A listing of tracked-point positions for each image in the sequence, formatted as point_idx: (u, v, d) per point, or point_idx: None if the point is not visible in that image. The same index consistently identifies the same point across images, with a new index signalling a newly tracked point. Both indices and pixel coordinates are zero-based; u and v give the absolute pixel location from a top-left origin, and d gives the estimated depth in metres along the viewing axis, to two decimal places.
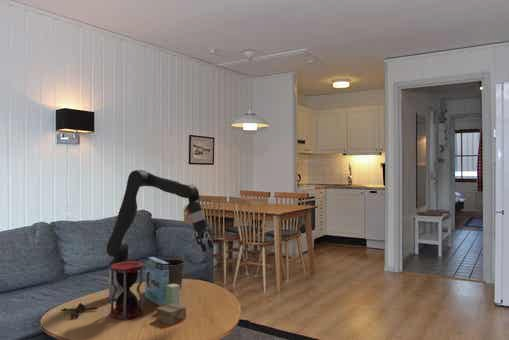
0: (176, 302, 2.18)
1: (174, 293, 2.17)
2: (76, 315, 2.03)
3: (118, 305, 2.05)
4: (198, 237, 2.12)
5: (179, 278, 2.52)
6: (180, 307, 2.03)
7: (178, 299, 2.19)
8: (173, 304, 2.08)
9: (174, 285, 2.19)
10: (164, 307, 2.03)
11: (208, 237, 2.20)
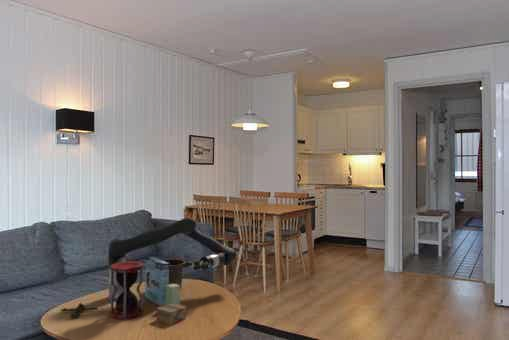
0: (176, 302, 2.18)
1: (174, 293, 2.17)
2: (76, 315, 2.03)
3: (118, 305, 2.05)
4: (207, 266, 2.29)
5: (179, 278, 2.52)
6: (180, 307, 2.04)
7: (178, 299, 2.19)
8: (173, 304, 2.08)
9: (174, 285, 2.19)
10: (164, 307, 2.03)
11: (193, 265, 2.34)
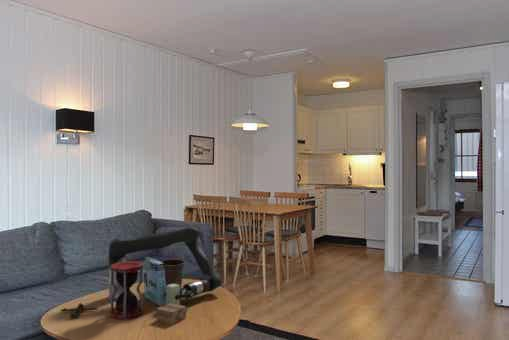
0: (176, 302, 2.18)
1: (174, 293, 2.17)
2: (76, 315, 2.03)
3: (118, 305, 2.05)
4: (190, 296, 2.20)
5: (179, 278, 2.52)
6: (180, 307, 2.04)
7: (178, 299, 2.19)
8: (172, 304, 2.08)
9: (174, 285, 2.19)
10: (164, 307, 2.02)
11: None
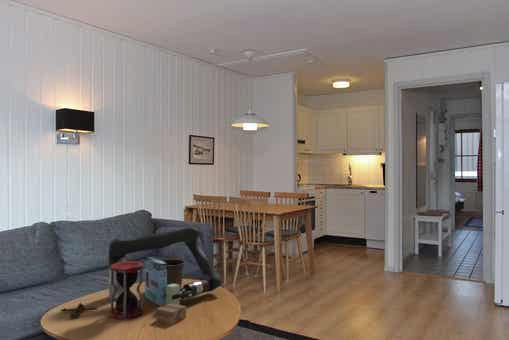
0: (176, 302, 2.18)
1: (174, 293, 2.17)
2: (76, 315, 2.03)
3: (118, 305, 2.05)
4: (187, 296, 2.19)
5: (179, 278, 2.52)
6: (180, 307, 2.04)
7: (178, 299, 2.19)
8: (172, 304, 2.08)
9: (174, 285, 2.19)
10: (164, 308, 2.02)
11: None
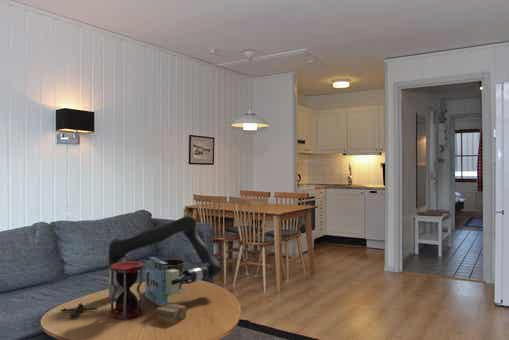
0: (175, 287, 2.18)
1: (173, 278, 2.16)
2: (76, 315, 2.03)
3: (118, 305, 2.05)
4: (187, 281, 2.19)
5: None
6: (180, 306, 2.04)
7: (178, 284, 2.19)
8: (171, 304, 2.08)
9: (174, 270, 2.19)
10: (164, 308, 2.02)
11: None
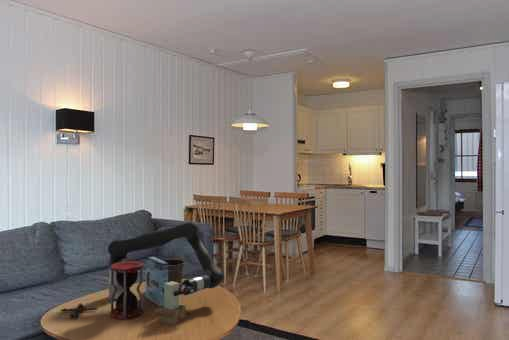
0: (175, 301, 2.02)
1: (172, 291, 2.00)
2: (76, 315, 2.03)
3: (118, 305, 2.05)
4: (190, 292, 2.03)
5: (179, 278, 2.52)
6: (180, 306, 2.05)
7: (177, 298, 2.03)
8: None
9: (173, 283, 2.03)
10: (164, 308, 2.02)
11: None
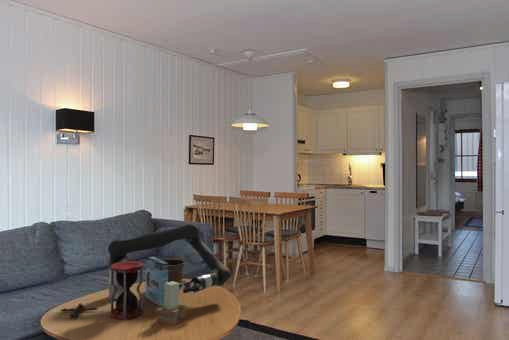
0: (175, 301, 2.02)
1: (172, 291, 2.00)
2: (75, 315, 2.03)
3: (118, 305, 2.05)
4: (199, 289, 2.08)
5: (179, 278, 2.52)
6: (180, 306, 2.05)
7: (177, 298, 2.03)
8: None
9: (173, 283, 2.03)
10: (164, 308, 2.02)
11: (183, 287, 2.13)
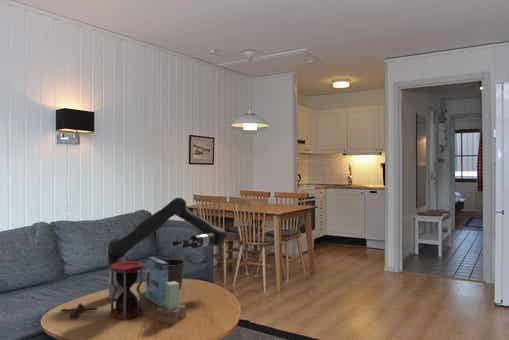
0: (174, 301, 2.01)
1: (171, 291, 2.00)
2: (75, 315, 2.02)
3: (118, 305, 2.05)
4: (197, 245, 2.29)
5: (179, 278, 2.52)
6: (180, 306, 2.05)
7: (177, 298, 2.02)
8: None
9: (173, 283, 2.03)
10: (164, 308, 2.02)
11: (182, 244, 2.34)
